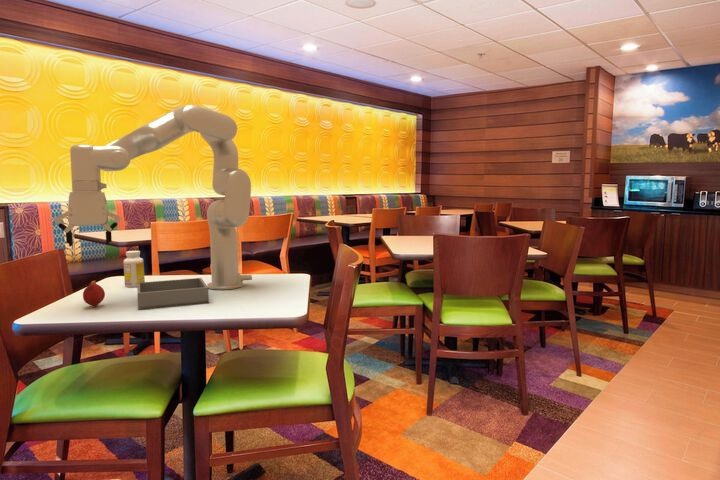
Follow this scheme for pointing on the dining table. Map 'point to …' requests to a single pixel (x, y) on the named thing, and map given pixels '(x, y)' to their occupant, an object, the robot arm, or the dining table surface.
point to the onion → (93, 294)
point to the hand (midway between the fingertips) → (89, 245)
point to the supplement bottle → (133, 269)
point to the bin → (172, 293)
